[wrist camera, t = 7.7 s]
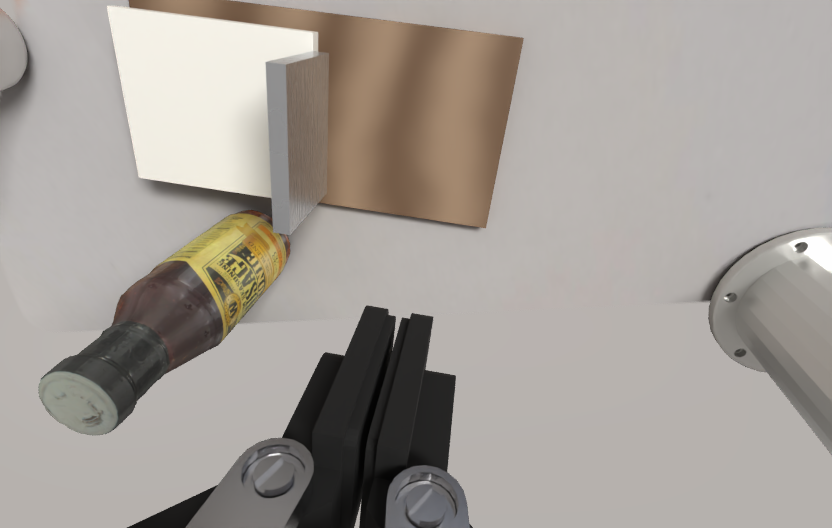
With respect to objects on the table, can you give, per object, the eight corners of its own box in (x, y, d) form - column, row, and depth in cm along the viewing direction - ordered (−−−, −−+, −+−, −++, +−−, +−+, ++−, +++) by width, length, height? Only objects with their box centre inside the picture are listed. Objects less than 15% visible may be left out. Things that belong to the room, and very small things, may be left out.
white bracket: (341, 32, 30) (285, 41, 22) (336, 193, 35) (290, 250, 27) (135, 6, 31) (3, 4, 22) (161, 167, 36) (62, 214, 28)
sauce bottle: (297, 274, 41) (158, 469, 23) (229, 268, 41) (45, 454, 24) (290, 204, 38) (122, 369, 20) (216, 198, 38) (-7, 354, 21)
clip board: (522, 37, 30) (523, 38, 29) (485, 222, 36) (485, 228, 35) (136, -12, 31) (126, -13, 31) (165, 174, 38) (158, 178, 37)
